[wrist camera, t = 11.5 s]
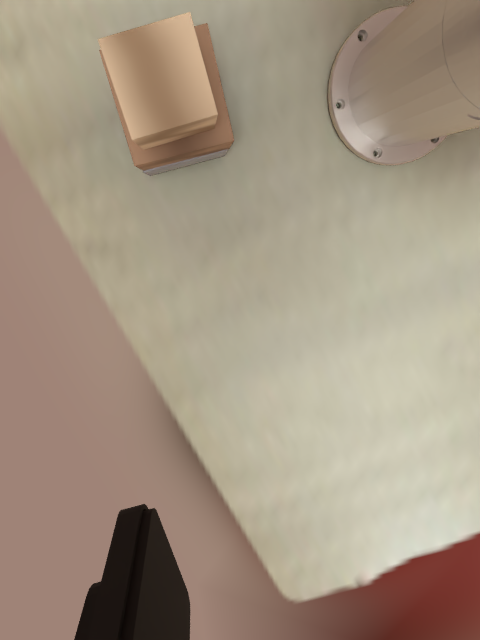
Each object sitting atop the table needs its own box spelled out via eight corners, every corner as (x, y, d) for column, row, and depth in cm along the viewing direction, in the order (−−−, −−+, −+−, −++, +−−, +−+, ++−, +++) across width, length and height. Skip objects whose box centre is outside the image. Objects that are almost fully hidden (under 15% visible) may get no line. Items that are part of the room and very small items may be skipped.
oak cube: (191, 46, 26) (189, 12, 21) (214, 128, 27) (217, 114, 23) (116, 68, 26) (97, 39, 21) (143, 150, 27) (132, 140, 23)
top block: (205, 50, 30) (207, 23, 26) (229, 148, 33) (234, 140, 28) (114, 73, 30) (99, 50, 26) (144, 170, 32) (134, 166, 28)
